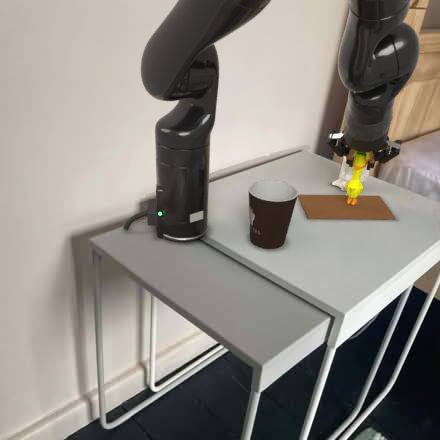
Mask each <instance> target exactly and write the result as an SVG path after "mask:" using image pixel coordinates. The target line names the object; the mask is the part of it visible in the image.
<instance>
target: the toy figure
mask: <svg viewBox="0 0 440 440" xmlns="http://www.w3.org/2000/svg"><path fill="white" fill-rule="evenodd" d="M366 157H367V154H366V153H363V152H357V153H356V155H355V160H354V161H353V178H352V179H351V180H350V181H349V182H348V183H346V185H345V189H346V191H345V192H346V193H347V194H346V195H348V196H349V198H348V201H347V203H348V204H350V203H351V202H352V205H354V204H356V203H357V199H356V197H357V196H358V195H359V196H360V195H361V194H363V191H364V186H363V182H362V183H361V181H360V178H361V175H362V172H363V169H364V168H365V167H366V165H367V163H368V159H367V158H366ZM352 198H354V199H353V200H352Z"/></svg>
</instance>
